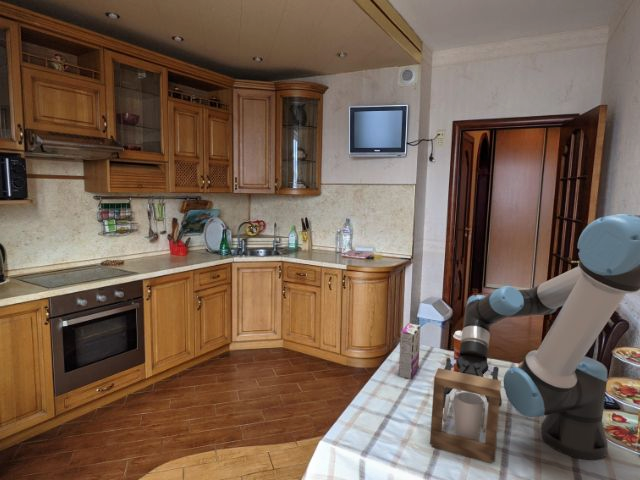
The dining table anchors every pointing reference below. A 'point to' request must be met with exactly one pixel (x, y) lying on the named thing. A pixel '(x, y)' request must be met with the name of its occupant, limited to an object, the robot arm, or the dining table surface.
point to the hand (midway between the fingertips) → (464, 425)
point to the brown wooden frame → (493, 391)
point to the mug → (467, 415)
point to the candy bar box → (409, 351)
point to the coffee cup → (457, 347)
